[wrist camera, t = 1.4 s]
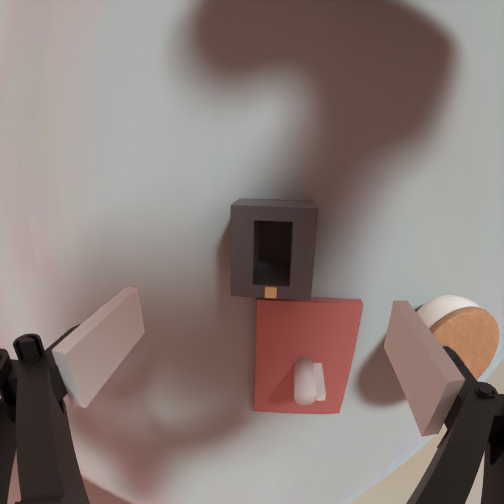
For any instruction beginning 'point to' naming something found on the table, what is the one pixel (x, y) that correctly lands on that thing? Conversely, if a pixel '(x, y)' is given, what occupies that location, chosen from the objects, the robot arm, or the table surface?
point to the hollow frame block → (246, 249)
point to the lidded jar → (463, 330)
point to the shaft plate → (304, 353)
